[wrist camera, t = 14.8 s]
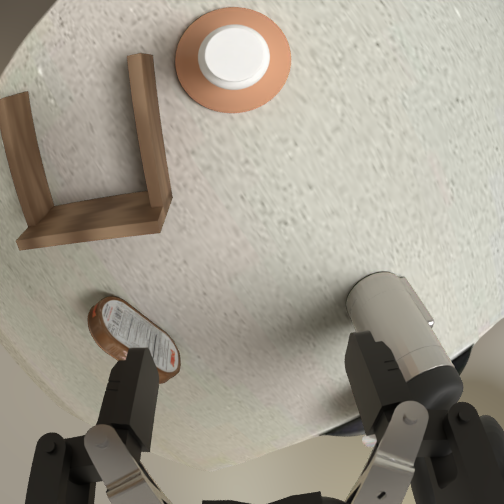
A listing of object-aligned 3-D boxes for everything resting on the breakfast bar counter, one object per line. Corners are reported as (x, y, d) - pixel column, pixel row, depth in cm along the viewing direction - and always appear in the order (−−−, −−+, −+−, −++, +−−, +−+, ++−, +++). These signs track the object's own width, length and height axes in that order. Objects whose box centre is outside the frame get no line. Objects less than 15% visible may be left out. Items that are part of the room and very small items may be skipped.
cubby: (152, 55, 26) (130, 51, 19) (172, 197, 35) (160, 232, 28) (20, 94, 26) (-22, 107, 19) (49, 216, 34) (19, 250, 27)
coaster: (286, 7, 24) (287, 5, 24) (291, 108, 30) (293, 109, 30) (172, 16, 24) (171, 14, 23) (182, 117, 30) (181, 119, 29)
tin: (96, 293, 41) (78, 336, 34) (108, 282, 40) (90, 326, 33) (172, 350, 48) (167, 394, 41) (186, 342, 47) (182, 387, 40)
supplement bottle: (200, 83, 27) (188, 88, 19) (208, 31, 25) (199, 14, 16) (256, 90, 28) (268, 97, 20) (265, 38, 25) (281, 24, 17)
